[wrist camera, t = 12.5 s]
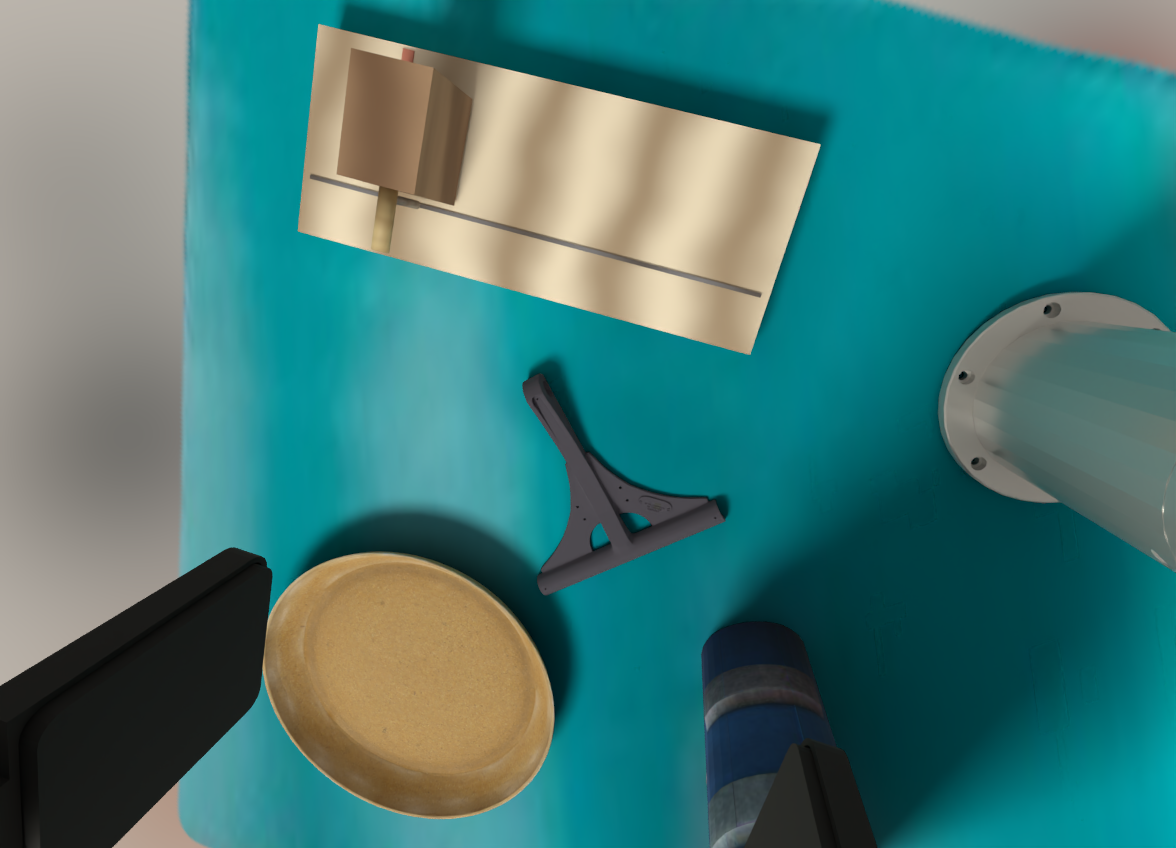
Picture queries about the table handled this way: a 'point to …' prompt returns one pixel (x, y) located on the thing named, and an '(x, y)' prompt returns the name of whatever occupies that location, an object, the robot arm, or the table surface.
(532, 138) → the board
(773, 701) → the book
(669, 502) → the bracket
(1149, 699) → the table surface
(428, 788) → the plant saucer
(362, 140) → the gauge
